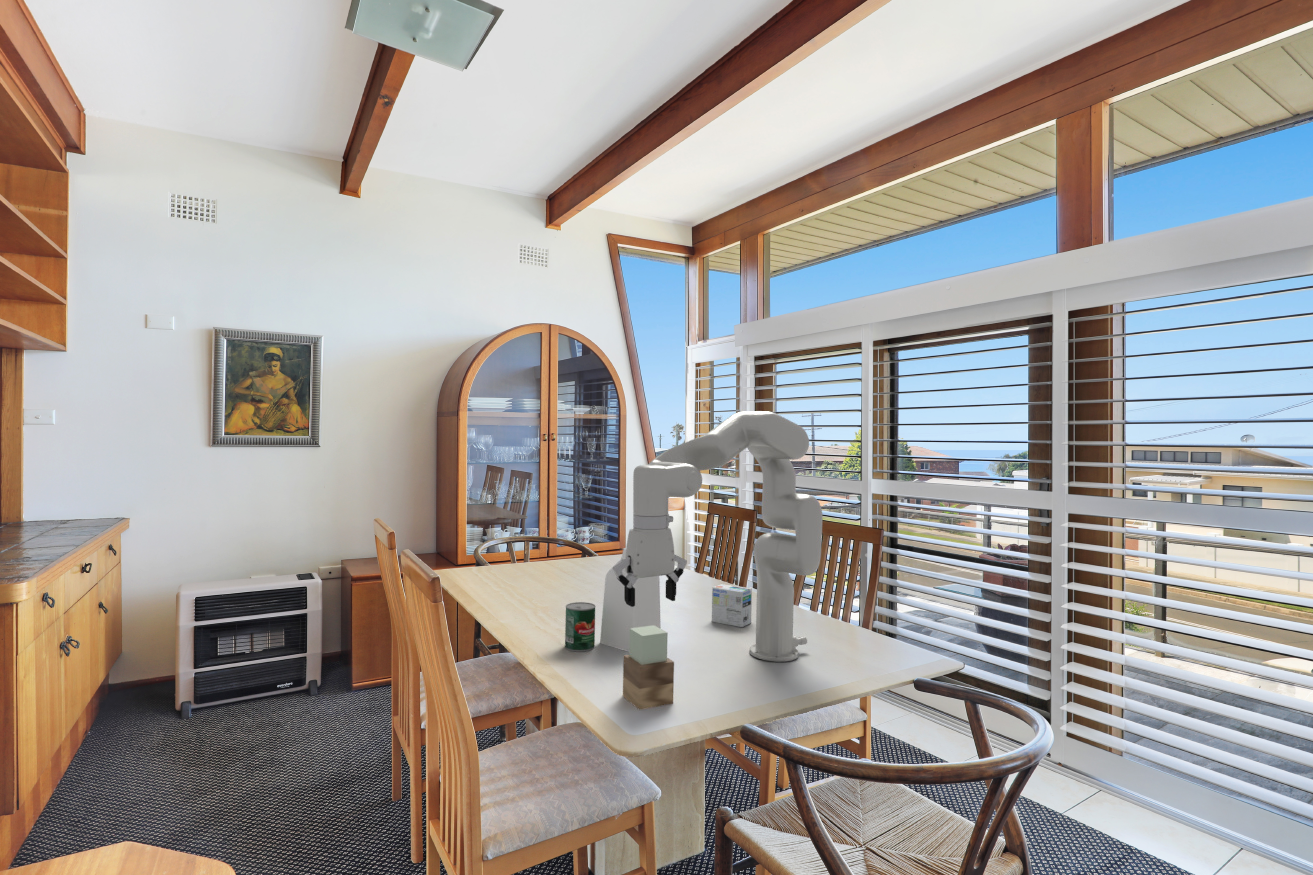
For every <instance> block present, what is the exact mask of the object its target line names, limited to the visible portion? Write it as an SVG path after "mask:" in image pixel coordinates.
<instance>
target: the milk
mask: <svg viewBox="0 0 1313 875" xmlns="http://www.w3.org/2000/svg"><path fill="white" fill-rule="evenodd" d="M620 557H621V558H620V560H618V561H617V562H616V563H614V565H613V566H612V567H611V568H610V569H609V570H608V571H607V573H606V574H605V578H604V579H605V581H604V589H603V590H604V591H603V600H602V601H603V602H602V616H601V628H600V637H599V638H600V641H599V643H600V644H602V645H605V646H608V647H612V648H616V649H617V650H622V651H625V652H628V653H629V638H630V628H637V627H645V626H653V625H655V626H656V627H658V628H660V629H662V627H661V596H660V595H661V592H660V589H661V586H660V585H661V584H660V583H661V582H660V576H654V577H645V578H638V579H637V581H636V582H635V583H634V585H633V587H634V588H635V606H634V607H631V606H629V605H627V604H626V602H625V599H624V585H623V584H622V583H621V582H620V581H619V580H618V579H617V576H616V575H615V573H614V571H613V567H614V566H615V565H617V564H618V563H620V562H621V561H623V560H624V559H625V557H626V547H624V548H623V551H622V554H621V556H620ZM622 573H623V575H624V576H625V577H626V576H627V574H628V573H626V571H625V568H624V569H623V570H622Z"/></svg>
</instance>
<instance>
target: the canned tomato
mask: <svg viewBox="0 0 1313 875" xmlns="http://www.w3.org/2000/svg"><path fill="white" fill-rule="evenodd" d="M596 606H597V605H596V604H594V603H592V602H586V601H581V602H580V601H578V602H577V601H576V602H570V603H567V604H565V624H564V626H565V628H564V629H565V630H564V632H565V633H564V635H565V636H564V648H565V650H567V651H570V652H579V653H580V652H581V653H582V652H588V651H591V650H594V649H595V648H596V646H595V644H596V642H595V641H596V639H595V638H596V637H595V635H596V634H595V633H596V632H595V631H596Z"/></svg>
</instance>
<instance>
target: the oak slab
mask: <svg viewBox="0 0 1313 875" xmlns="http://www.w3.org/2000/svg"><path fill="white" fill-rule="evenodd" d="M674 687H675V686H674V683H671V684H666V685H660V686H654V687H649V688H643V689H639V688H638V687H636V686H635V685H634V684H633V683H631V682H630V681H629V680H627V679H626V678H625V677H623V676H622V697H623V698H625V699H626V701H628V702H629V703H630V704H632V705H633V706H634V707H635V708H636V709H638V710H639V711H640V710H645V709H651V708H656V707H661V706H666V705H673V704H674V690H675V689H674Z"/></svg>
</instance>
